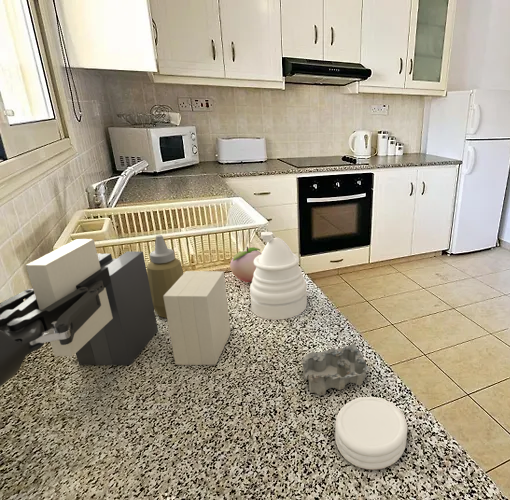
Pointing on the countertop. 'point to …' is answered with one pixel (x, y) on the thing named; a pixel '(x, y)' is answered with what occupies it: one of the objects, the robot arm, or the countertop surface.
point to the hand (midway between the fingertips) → (96, 274)
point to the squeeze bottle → (162, 274)
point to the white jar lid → (371, 432)
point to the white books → (198, 317)
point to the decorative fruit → (244, 264)
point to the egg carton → (334, 369)
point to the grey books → (123, 313)
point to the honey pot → (277, 282)
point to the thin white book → (69, 287)
